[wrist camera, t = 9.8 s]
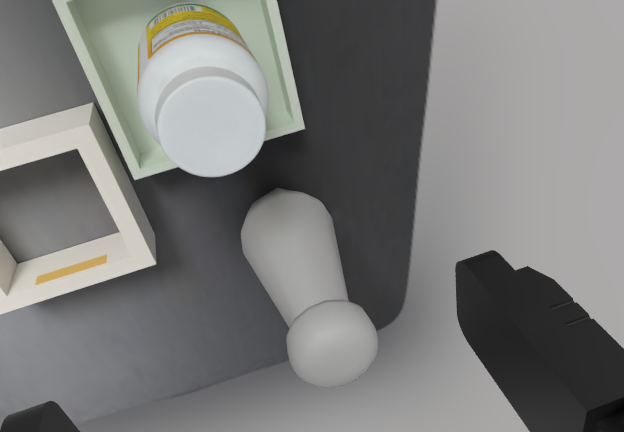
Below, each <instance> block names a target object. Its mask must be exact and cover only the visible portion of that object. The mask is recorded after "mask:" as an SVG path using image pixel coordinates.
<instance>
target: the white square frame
mask: <svg viewBox="0 0 624 432" xmlns="http://www.w3.org/2000/svg"><path fill="white" fill-rule="evenodd" d="M74 149H78V151H79V153H80V155H81V157H82V159H83V161H84V163H85V165H86V167H87V168H88V170H89V172H90V174H91V176H92V178H93V180H94V182H95V184H96V186H97V188H98V190H99V192H100V194H101V196H102V198H103V200H104V202H105V204H106V206H107V208H108V209H109V211H110V213H111V215H112V217H113V219H114V221H115V223H116V225H117V227H118V229H119V231H120V232H118V233H115V234H112V235H108V236H105V237H102V238H99V239H96V240H92V241H89V242H86V243H83V244H80V245H76V246H73V247H70V248H67V249H64V250H60V251H57V252H54V253H51V254H48V255H44V256H41V257H38V258H35V259H31V260H28V261H25V262H22V263H19V264H17V263H16V261H15V260H14V258H13V257H12V255H11V254H10V252H9V251H8V249H7V248H6V247H5V245H4V244H3V242H2V241H1V239H0V314H3V313H6V312H9V311H12V310H16V309H19V308H22V307H25V306H28V305H31V304H34V303H37V302H40V301H44V300H47V299H50V298H53V297H56V296H59V295H62V294H65V293H68V292H72V291H75V290H78V289H81V288H84V287H87V286H90V285H93V284H97V283H100V282H103V281H106V280H109V279H112V278H115V277H118V276H121V275H125V274H128V273H131V272H134V271H137V270H140V269H143V268H146V267H149V266H153V265H156V241H155V234H154V232H153V229H152V227H151V225H150V223H149V221H148V219H147V216H146V214H145V212H144V210H143V208H142V206H141V204H140V201H139V199H138V197H137V195H136V193H135V191H134V189H133V186H132V184H131V182H130V180H129V178H128V176H127V173H126V171H125V169H124V167H123V165H122V163H121V161H120V158H119V156H118V154H117V152H116V150H115V148H114V146H113V143H112V141H111V139H110V137H109V135H108V133H107V130H106V128H105V126H104V124H103V122H102V120H101V118H100V115H99V113H98V111H97V109H96V107H95V105H94V102H93V103H89V104H86V105H82V106H79V107H75V108H71V109H68V110H64V111H61V112H57V113H54V114H50V115H47V116H43V117H40V118H36V119H33V120H29V121H25V122H22V123H18V124H15V125H11V126H8V127H4V128H1V129H0V171H2V170H5V169H9V168H12V167H16V166H19V165H22V164H26V163H29V162H33V161H36V160H40V159H43V158H46V157H50V156H53V155H57V154H60V153H64V152H67V151H70V150H74Z"/></svg>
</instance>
